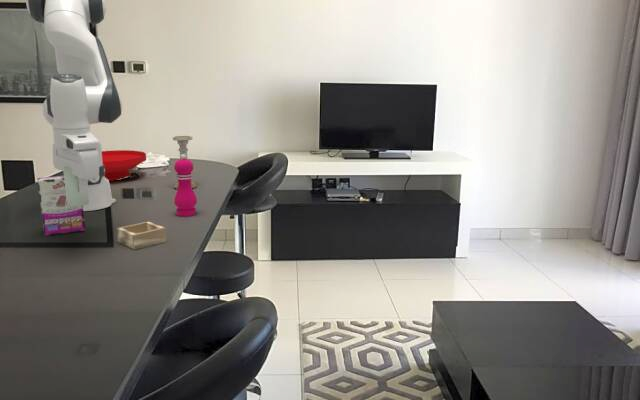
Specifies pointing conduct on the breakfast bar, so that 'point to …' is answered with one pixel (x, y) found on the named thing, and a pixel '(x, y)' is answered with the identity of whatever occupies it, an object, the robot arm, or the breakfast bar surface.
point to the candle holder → (183, 151)
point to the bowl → (121, 162)
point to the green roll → (74, 190)
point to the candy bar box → (58, 208)
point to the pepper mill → (184, 188)
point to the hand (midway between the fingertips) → (77, 190)
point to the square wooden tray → (141, 235)
